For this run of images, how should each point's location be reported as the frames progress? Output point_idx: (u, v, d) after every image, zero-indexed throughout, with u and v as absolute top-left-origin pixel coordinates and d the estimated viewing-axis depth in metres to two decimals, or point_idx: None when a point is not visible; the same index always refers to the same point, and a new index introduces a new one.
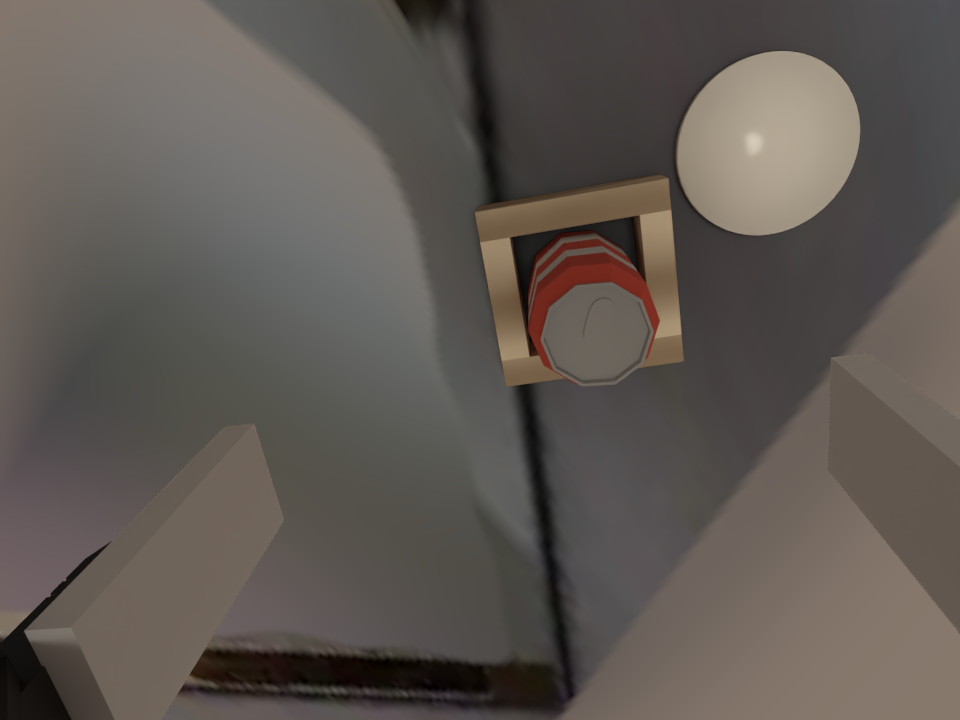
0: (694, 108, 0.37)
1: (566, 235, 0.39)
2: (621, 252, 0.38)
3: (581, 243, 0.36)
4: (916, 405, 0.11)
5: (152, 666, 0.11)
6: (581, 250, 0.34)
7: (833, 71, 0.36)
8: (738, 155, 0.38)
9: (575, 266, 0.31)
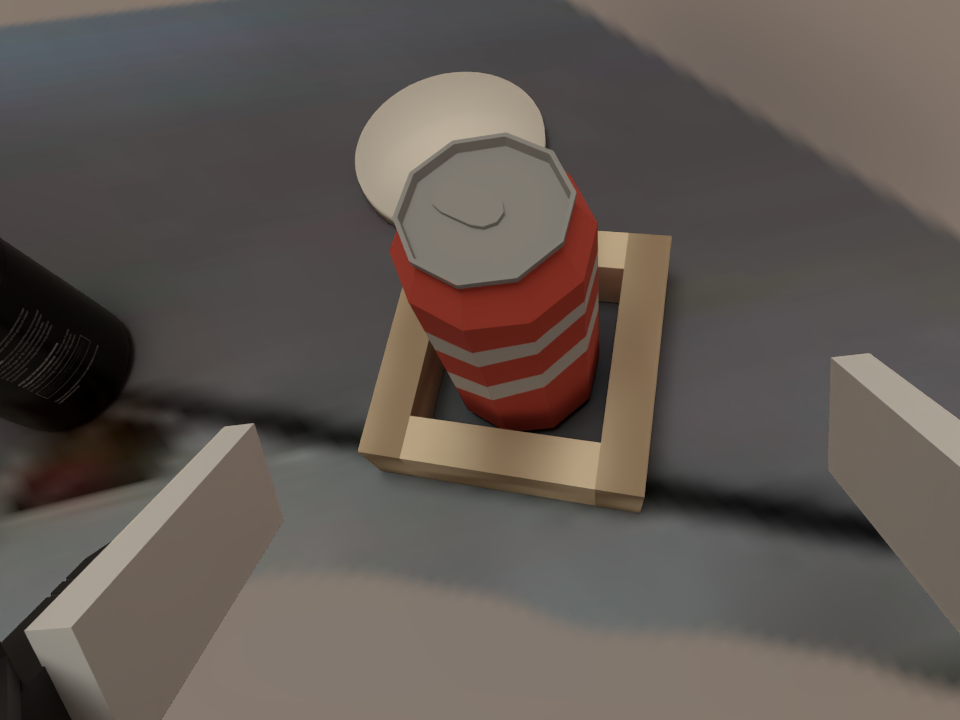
0: (378, 203, 0.33)
1: None
2: None
3: None
4: (916, 405, 0.11)
5: (152, 666, 0.11)
6: None
7: (403, 90, 0.36)
8: None
9: None
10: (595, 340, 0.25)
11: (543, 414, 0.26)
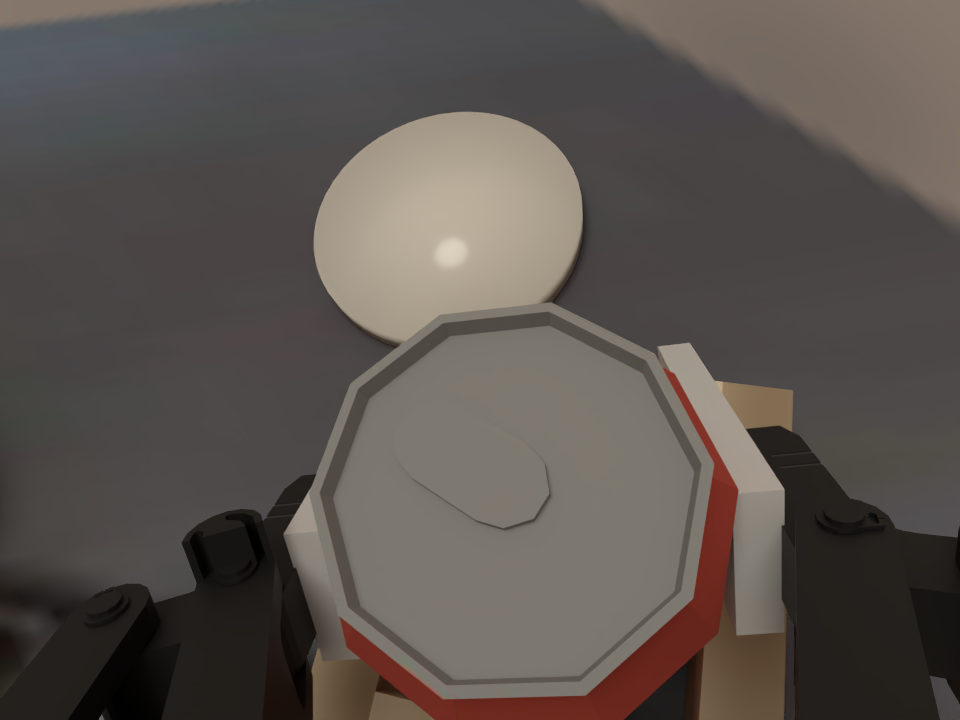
0: (343, 302, 0.23)
1: None
2: None
3: None
4: (699, 385, 0.13)
5: None
6: None
7: (383, 136, 0.26)
8: (437, 255, 0.23)
9: None
10: None
11: None
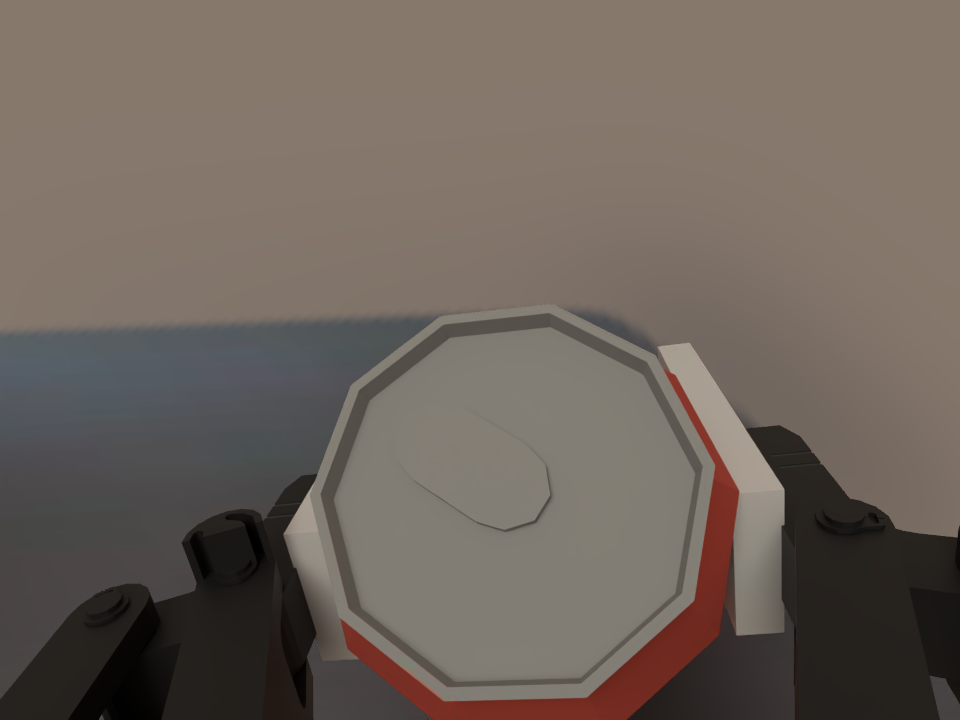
0: None
1: None
2: None
3: None
4: (699, 385, 0.13)
5: None
6: None
7: None
8: None
9: None
10: None
11: None
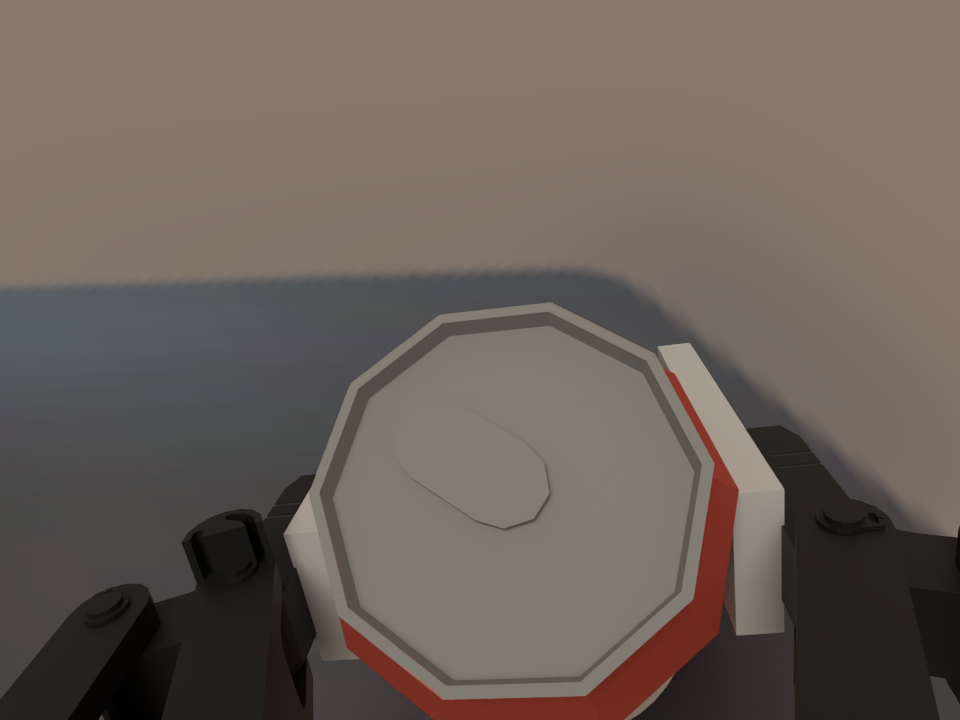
0: None
1: None
2: None
3: None
4: (699, 385, 0.13)
5: None
6: None
7: None
8: None
9: None
10: None
11: None
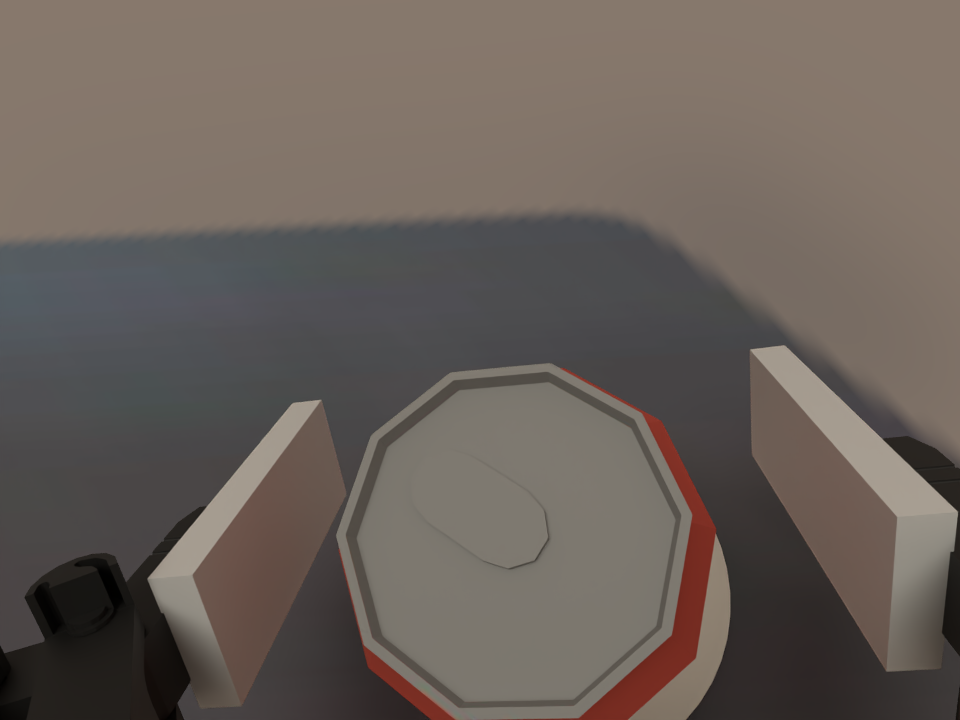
0: None
1: None
2: None
3: None
4: (812, 391, 0.12)
5: (252, 619, 0.12)
6: None
7: None
8: None
9: None
10: None
11: None
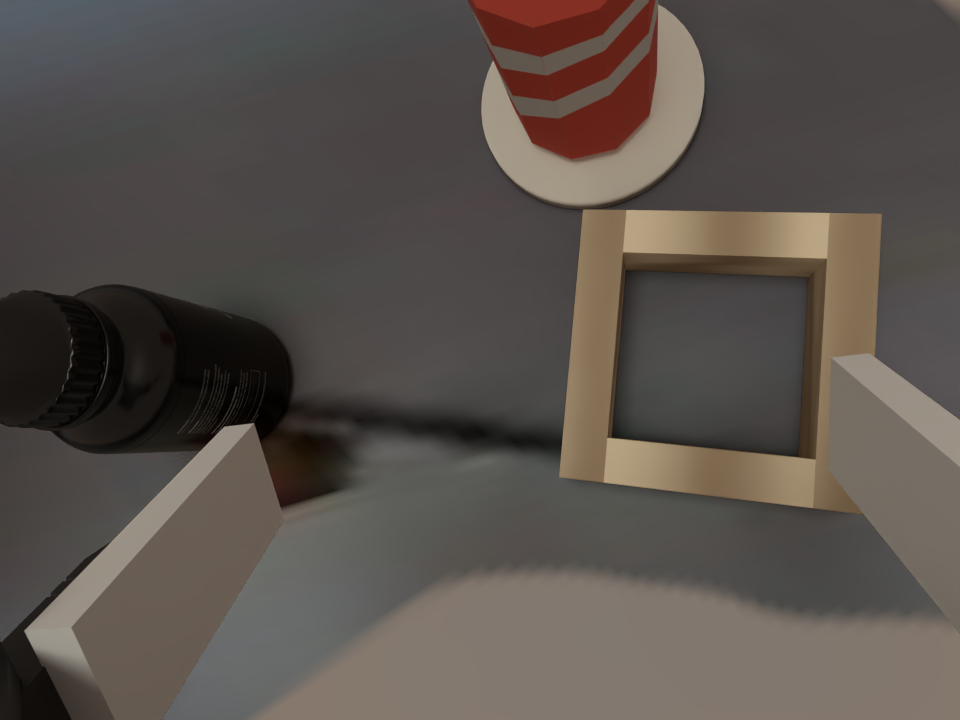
0: (519, 178, 0.30)
1: None
2: None
3: None
4: (916, 405, 0.11)
5: (152, 666, 0.11)
6: None
7: None
8: None
9: None
10: (655, 47, 0.26)
11: (606, 132, 0.27)
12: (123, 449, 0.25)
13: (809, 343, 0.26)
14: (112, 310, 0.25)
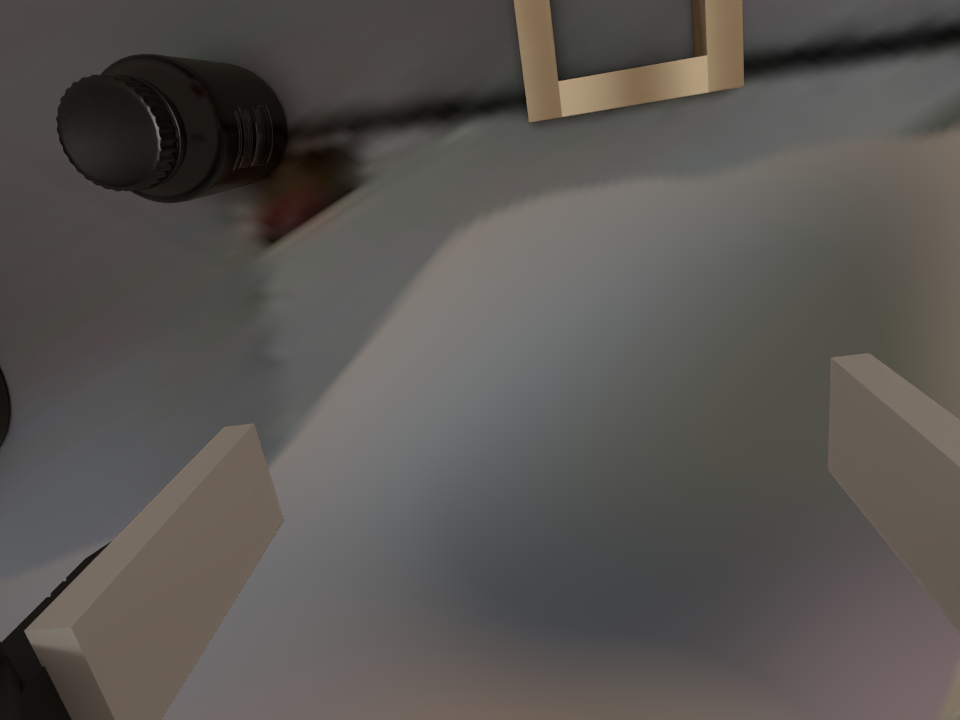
0: None
1: None
2: None
3: None
4: (916, 405, 0.11)
5: (152, 666, 0.11)
6: None
7: None
8: None
9: None
10: None
11: None
12: (203, 191, 0.32)
13: None
14: (148, 77, 0.29)
